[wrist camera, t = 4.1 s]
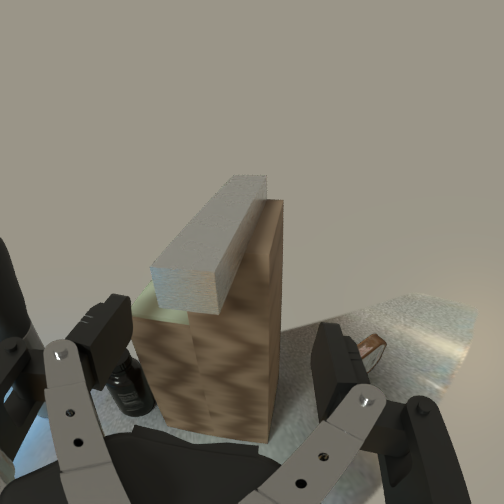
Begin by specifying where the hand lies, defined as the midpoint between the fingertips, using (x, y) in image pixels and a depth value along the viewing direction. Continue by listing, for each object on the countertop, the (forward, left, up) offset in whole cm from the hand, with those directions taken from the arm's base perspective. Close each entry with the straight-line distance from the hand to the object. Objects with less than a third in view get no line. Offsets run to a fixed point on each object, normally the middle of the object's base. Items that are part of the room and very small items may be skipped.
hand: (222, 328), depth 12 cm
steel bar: (-4, +16, -3) cm, 16 cm away
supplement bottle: (-23, +16, -36) cm, 45 cm away
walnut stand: (-8, +20, -35) cm, 41 cm away
